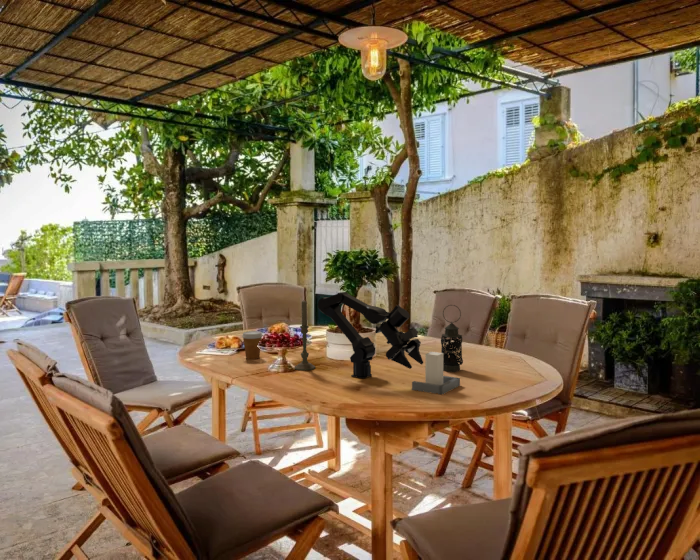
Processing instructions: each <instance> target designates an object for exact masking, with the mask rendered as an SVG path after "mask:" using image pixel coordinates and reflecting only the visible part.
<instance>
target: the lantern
mask: <svg viewBox="0 0 700 560" xmlns="http://www.w3.org/2000/svg"><path fill="white" fill-rule="evenodd" d="M449 306H453V307H456V308H457V309H458V311H459V318H458V319H457V320H455V321H449V320H448V319H446V317H445V315H444V311H445V310H446V308H448V307H449ZM442 316H443V319H444V320H445V321H446V322H448V323H449V324H448V325H447V326H445V327H444V329H445V330H444V331H445V332H444V333H442V334H441V337H440V344H441V352H440V353H443V372H450V373H457V372H458V373H459V372H460V370H461V366H462V365H463V363H464V360H463V359H464V358H463V350H462V349H463V348H462V347H463V346H462V345H463V335H462V334H460V333H459V329H460V328H459V327H458V326H457V325H455V324H454V323H457V322H458V321H459V320H460V319H461V317H462V312H461V309H460V308H459V307H458V306H457V305H455V304H449V305H446V306H445V308H444V309H443V311H442Z"/></svg>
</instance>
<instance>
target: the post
mask: <svg viewBox="0 0 700 560" xmlns="http://www.w3.org/2000/svg"><path fill="white" fill-rule="evenodd" d="M424 355H425V360H424V361H425V366H424V367H425V370H424V371H425V377H424V378H425V379H424V380H425V381H424V383H431V384H438V385H442V384H443V376H444V371H443V353H441V352H437V351H429V352H426V353H425V354H424Z"/></svg>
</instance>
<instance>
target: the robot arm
mask: <svg viewBox="0 0 700 560" xmlns="http://www.w3.org/2000/svg"><path fill="white" fill-rule="evenodd" d="M342 304H343V305H345V306H346V307H348V308H351V309H352V310H355V312H358V313H359V314H361V315H363V317H364V318H365V320H367V322H369V323H370V324H372V325H376V324H379V325H376V326H375V330H374V331H375V332H374V333H375V334H379V333H381V334H382V335H383V336H384V338H385V339H386V343H387V345H391V347H390V348H389V349H388V350H387V351H386V352H385V357H386V358H387V359H388V360H391V361H392V362H395V363H398V364H399V365H401V366H404V367H406V368H407V369H410V370H411V369H412V368H413V366H412V364H411V363H410V361H409V359H408V358H407V356H409V357H410V358H411V359H413V360H415V361H416V362H417V363H418V364H420V365H423V364H424V359H423V358H422V355H421V352H420V346H421V344H422V343H421V341H420V340H419V339H418V337H419V335H418V334H419V331H418V330H417V329H416V328H415V327H411V328H408V330H407V331H405V332H404V331H399V329H397V328H401V327H402V326H403V325H404V324H405V323H406V321H408V320H409V318H410V312H408V310H406V309H404V308H403V307H401V306H400V305H395V306H394V307H393V309H392V310H391V311H387V310H386V309H384V308H383V307H381V306H380V307H379V306H376V305H375V306H374V305H371V304H368V303H367V302H365V301H363V300H361V299H359V298H358V297H355V296H353V295H351V294H349V293H348V292H346V291H341V292H337V293H336V294H334V295H331V296H328V297H320V298H319V299H318V301H317V309H318V310H319V311H320V312H321V313H322V314H324V315H325V316H327V317H329V318H330V319H331V320H332V321H333V322H334V323H335V324H336V326H337V327H338V328H339V329H340V330H341V332H342V333H343V335H344V337H346V339H348V341H349V342H350V343H351V347H352V352H353V354H352V355H351V356H350V357H349V360H350V362H351V363H352V368H353V369H352V370H353V372H352V374H351V375H350V377H353V378H359V379H366V378H369V377H372V376H373V374H372V365H371V361H372V360H373V357H374V356H375V354H376V346H375V343H374V342H372V340H371V339H370V337H369V336H366V337H363V336H362V335H361V334H360V333H359V332H358V331H357V329H356V328H355V327H354V326H353V325H352V323H351V322H350V321H349V319H347V317H346V315H345V314H344V313H343V311H341V306H340V305H342ZM406 353H407V356H406V355H405V354H406Z"/></svg>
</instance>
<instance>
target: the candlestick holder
mask: <svg viewBox="0 0 700 560" xmlns="http://www.w3.org/2000/svg"><path fill="white" fill-rule="evenodd" d="M307 304H308V303H307V300H304V299H302V300H301V325H300V326H299V327H300V333H301V334H302V338H301V341H302V352H301V353H300V356H301V358H302V360H301V362H298V364H296V365H295V366H294V369H295V370H297V371H312V370H315V369H316V365H314V364H313V363H311V362H309V361H308V358H309V352H308V351H307V340H308V338H307V337H308V336H307V334H308V333H309V330H308V329H309V327H310V326H309V325H308V320H307V319H308V317H307V316H308V313H307V311H308V309H307V308H308V307H307Z"/></svg>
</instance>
